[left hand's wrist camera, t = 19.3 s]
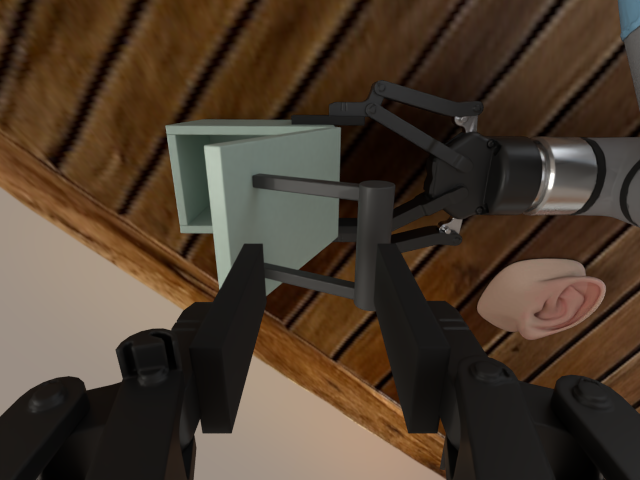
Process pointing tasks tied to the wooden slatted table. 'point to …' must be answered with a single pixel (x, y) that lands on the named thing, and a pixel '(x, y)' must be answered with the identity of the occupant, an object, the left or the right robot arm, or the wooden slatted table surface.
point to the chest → (191, 162)
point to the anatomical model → (541, 297)
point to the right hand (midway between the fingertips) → (293, 175)
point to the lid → (294, 209)
